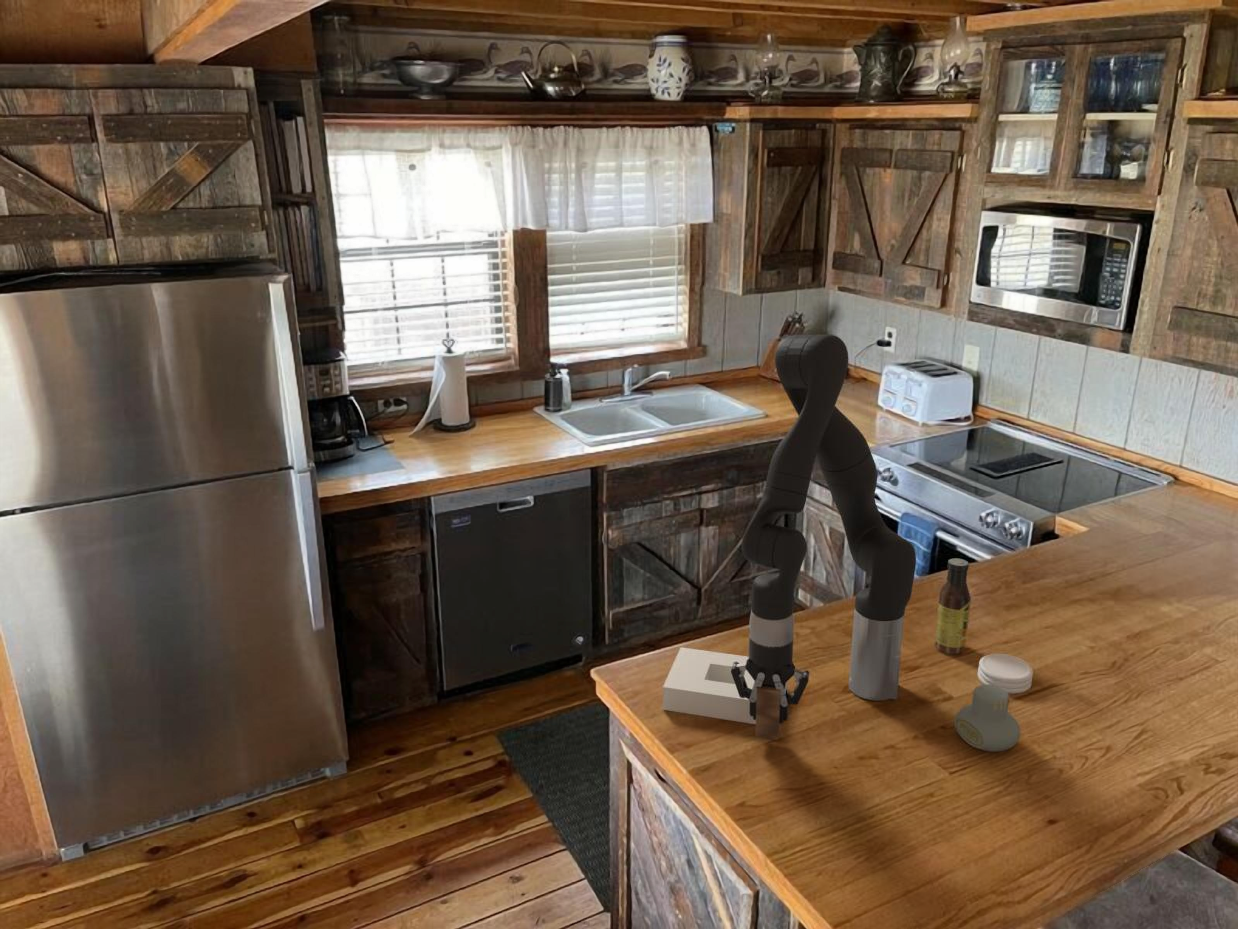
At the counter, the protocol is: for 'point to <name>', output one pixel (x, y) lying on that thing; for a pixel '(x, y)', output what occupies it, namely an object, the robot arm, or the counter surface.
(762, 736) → the peg
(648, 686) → the counter surface
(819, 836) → the counter surface
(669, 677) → the socket board
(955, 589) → the sauce bottle
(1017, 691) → the coaster
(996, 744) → the air freshener
